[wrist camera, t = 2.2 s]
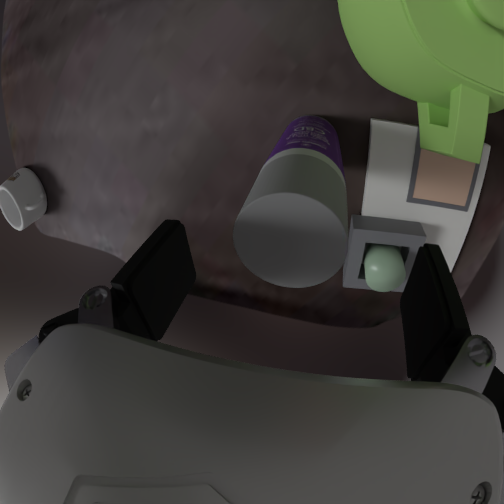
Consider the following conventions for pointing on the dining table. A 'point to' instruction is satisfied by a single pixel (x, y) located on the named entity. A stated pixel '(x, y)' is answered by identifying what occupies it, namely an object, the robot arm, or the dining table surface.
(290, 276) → the container
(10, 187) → the mug
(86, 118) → the dining table surface
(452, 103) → the teapot
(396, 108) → the dining table surface
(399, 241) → the picture board
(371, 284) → the button
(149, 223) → the dining table surface
